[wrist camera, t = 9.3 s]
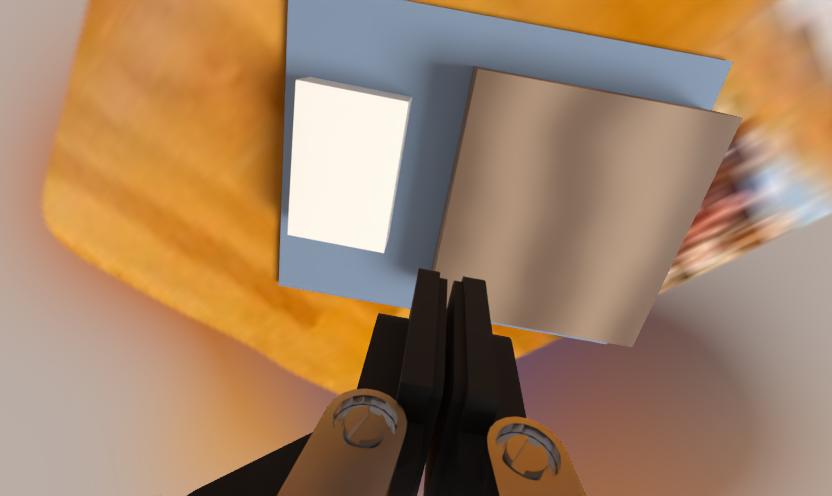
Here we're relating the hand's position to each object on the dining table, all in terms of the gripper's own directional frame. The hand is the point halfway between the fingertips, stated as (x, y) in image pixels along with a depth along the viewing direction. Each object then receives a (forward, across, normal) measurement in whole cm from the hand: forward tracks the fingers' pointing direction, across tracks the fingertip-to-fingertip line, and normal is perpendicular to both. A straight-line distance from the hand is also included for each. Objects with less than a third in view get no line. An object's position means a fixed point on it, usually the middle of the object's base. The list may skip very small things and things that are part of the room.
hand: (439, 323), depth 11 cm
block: (+17, -7, +2) cm, 18 cm away
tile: (+14, +6, +1) cm, 16 cm away
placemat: (+17, -2, +2) cm, 18 cm away
